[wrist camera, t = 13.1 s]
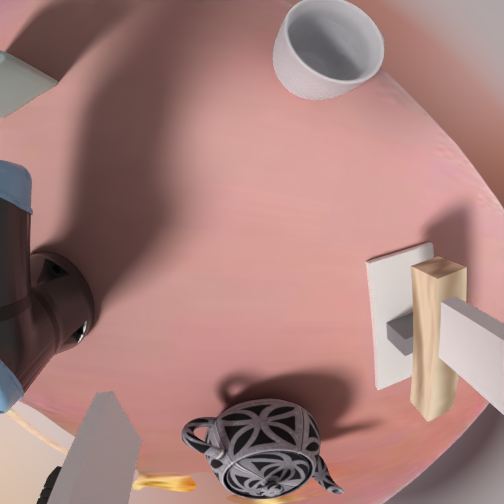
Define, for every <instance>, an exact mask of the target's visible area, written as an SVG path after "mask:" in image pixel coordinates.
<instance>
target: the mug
mask: <svg viewBox="0 0 504 504" xmlns="http://www.w3.org/2000/svg"><path fill="white" fill-rule="evenodd" d="M384 44H385V38H384V36H383V34H382V33H381V32H380V31H379V29H378V28H377V26H376V24H375V23H374V22H373V20H372V19H371V18H370V17H369V16H368V15H367V14H366V13H365V12H363V11H362V10H361V9H359V8H358V7H356V6H355V5H353V4H351V3H349V2H347V1H345V0H302V1H300V2H299V3H297V4H296V5H294V6H293V7H292V8H291V9H290V10H289V12H288V13H287V15H286V17H285V19H284V21H283V22H282V25H281V27H280V30H279V32H278V34H277V38H276V39H275V43H274V48H273V55H272V57H273V64H274V65H273V67H274V69H275V73H276V75H277V77H278V79H279V81H280V82H281V83H282V85H283V86H284V87H285V88H286V89H287V90H288V91H290V92H291V93H292V94H294V95H296V96H298V97H300V98H303V99H309V100H325V99H331V98H335V97H337V96H340V95H342V94H345V93H347V92H349V91H351V90H352V89H355V88H356V87H357V86H360V85H361V84H362V83H364V82H366V81H367V80H369V79H370V78H371V77H373V76H374V75H375V74H376V73H377V72H378V70H379V69H380V67H381V65H382V62H383V59H384V53H385V49H384Z"/></svg>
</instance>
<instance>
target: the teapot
mask: <svg viewBox="0 0 504 504" xmlns="http://www.w3.org/2000/svg"><path fill="white" fill-rule="evenodd" d="M199 427H209V428H208V429H207V432H206V435H205V439H204V441H202V440H200V439H199V438H197V437H196V436H195V435H194V433H193V431H194V430H195V429H196V428H199ZM182 440H183V441H184V443H185V444H186V445H188V446H189V447H191V448H192V449H194V450H196V451H198V452H200V453H203V454H206V458H207V460H208V463H209V465H210V467H211V469H212V470H213V472H214V473H215V475H216V476H217V478H218V479H219V481H220V482H221V483H222V484H223V486H224V487H225V488H226V489H227V490H228V491H230V492H231V493H233V494H235V495H238V496H241V497H244V498H250V499H271V498H276V497H281V496H284V495H287V494H290V493H292V492H294V491H296V490H298V489H299V488H301V487H302V486H304V485H305V484H306V483H307V482H308V481H309V480H310V479H311V477H313V478H314V479H315V480H316V481H317V482H318V483H319V484H320V485H321V486H323V487H324V488H325V489H326V490H328V491H329V492H331V493H334V494H341V493H343V492H344V490H343V489H342V488H340V487H339V486H338V485H336V484H335V482H334V481H333V480H332V478H331V476H330V474H329V471H328V469H327V466H326V464H325V462H324V460H323V459H322V458H321V457H320V455H319V453H320V443H321V439H320V431H319V427H318V425H317V422H316V420H315V419H314V417H313V416H312V415H311V414H310V413H309V412H308V411H307V410H305V409H304V408H302V407H301V406H299V405H297V404H295V403H292V402H289V401H285V400H280V399H272V398H264V399H254V400H249V401H245V402H242V403H239V404H237V405H234V406H232V407H230V408H229V409H227V410H225V411H224V412H222V413H221V414H220V415H219V416H217V417H203V418H197V419H194V420H192V421H190V422H188V423H187V424H186V425H185V426H184V428H183V430H182Z"/></svg>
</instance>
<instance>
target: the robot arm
mask: <svg viewBox="0 0 504 504" xmlns="http://www.w3.org/2000/svg"><path fill="white" fill-rule="evenodd" d="M31 190H32V179H31V175H30V173H29V172H28V170H27V169H26V168H25V167H23V166H21V165H18V164H15V163H11V162H8V161H3V160H0V414H3V413H5V412H7V411H8V410H10V408H11V407H12V406H13V405H14V404H15V403H16V402H17V401H18V400H20V399H22V397H23V394H24V393H25V392H26V390H27V389H28V388H29V386H30V385H31V384H32V382H33V381H34V380H35V378H36V377H37V376H38V375H39V373H40V372H41V371H42V369H43V368H44V367H45V365H46V364H47V363H48V362H49V360H50V359H51V358H52V357H53V356H54V355H55V354H58V353H61V352H63V351H66V350H69V349H71V348H73V347H75V346H76V345H77V344H79V343H80V342H81V341H82V340H83V338H84V337H85V336H86V334H87V333H88V332H89V330H90V328H91V325H92V322H93V317H94V304H93V298H92V295H91V291H90V289H89V286H88V284H87V282H86V280H85V279H84V277H83V276H82V274H81V273H80V272H79V270H78V269H77V268H76V267H75V266H74V265H73V264H72V263H71V262H69V261H68V260H67V259H65V258H63V257H62V256H60V255H57V254H54V253H50V252H39V253H35V254H33V255H31V256H30V228H31V215H33V211H32V209H31ZM439 358H440V359H441V360H443V361H444V362H445V363H446V364H447V365H448V366H449V367H451V368H452V369H453V370H454V371H455V372H456V373H457V374H459V375H460V376H461V377H462V378H463V379H464V380H465V381H467V382H468V383H469V384H470V385H471V386H472V387H473V388H474V389H476V390H477V391H478V392H479V393H480V394H481V395H482V396H483V397H484V398H486V399H487V400H488V401H489V402H490V403H491V404H492V405H493V406H494V407H496V408H497V409H498V410H499V411H500V412H501V413H502V414H503V415H504V323H502V322H500V321H498V320H497V319H495V318H493V317H491V316H490V315H488V314H486V313H484V312H483V311H481V310H479V309H477V308H476V307H474V306H472V305H470V304H468V303H467V302H465V301H463V300H461V299H459V298H458V297H456V296H453V297H451V298H448V299H446V300H444V301H442V302H441V324H440V344H439ZM141 442H142V440H141V438H140V436H139V435H138V433H137V432H136V430H135V429H134V427H133V425H132V424H131V422H130V420H129V419H128V417H127V415H126V414H125V412H124V410H123V408H122V407H121V405H120V403H119V401H118V400H117V398H116V396H115V394H114V392H113V391H111V392H103V393H96V395H95V397H94V399H93V401H92V403H91V405H90V408H89V410H88V412H87V414H86V416H85V418H84V420H83V422H82V424H81V426H80V428H79V430H78V433H77V435H76V437H75V439H74V441H73V444H72V446H71V448H70V450H69V452H68V455H67V457H66V460H65V462H64V464H63V466H62V467H59V466H57V467H56V468H55V469H54V470H53V472H52V473H51V474H50V475H49V476H48V478H47V480H46V483H45V485H44V489H43V490H42V492H41V494H40V498H39V499H38V501H37V504H128V501H129V496H130V492H131V487H132V482H133V477H134V473H135V468H136V464H137V459H138V455H139V450H140V446H141Z"/></svg>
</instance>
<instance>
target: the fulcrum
mask: <svg viewBox="0 0 504 504" xmlns="http://www.w3.org/2000/svg"><path fill="white" fill-rule="evenodd" d="M432 258H434V250H433V243H430V242H427V243H424V244H421V245H418V246H414V247H411V248H408V249H405V250H402V251H398V252H395V253H392V254H389V255H385V256H382V257H379V258H375V259H372V260H369V261H366V269H367V277H368V286H369V296H370V306H371V317H372V329H373V344H374V362H375V387H376V388H377V390H380V389H383V388H385V387H388V386H390V385H392V384H395V383H397V382H399V381H402V380H404V379H406V378H409V377H411V376H412V366H413V297H412V278H411V266H412V265H415V264H418V263H420V262H423V261H426V260H429V259H432Z"/></svg>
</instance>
